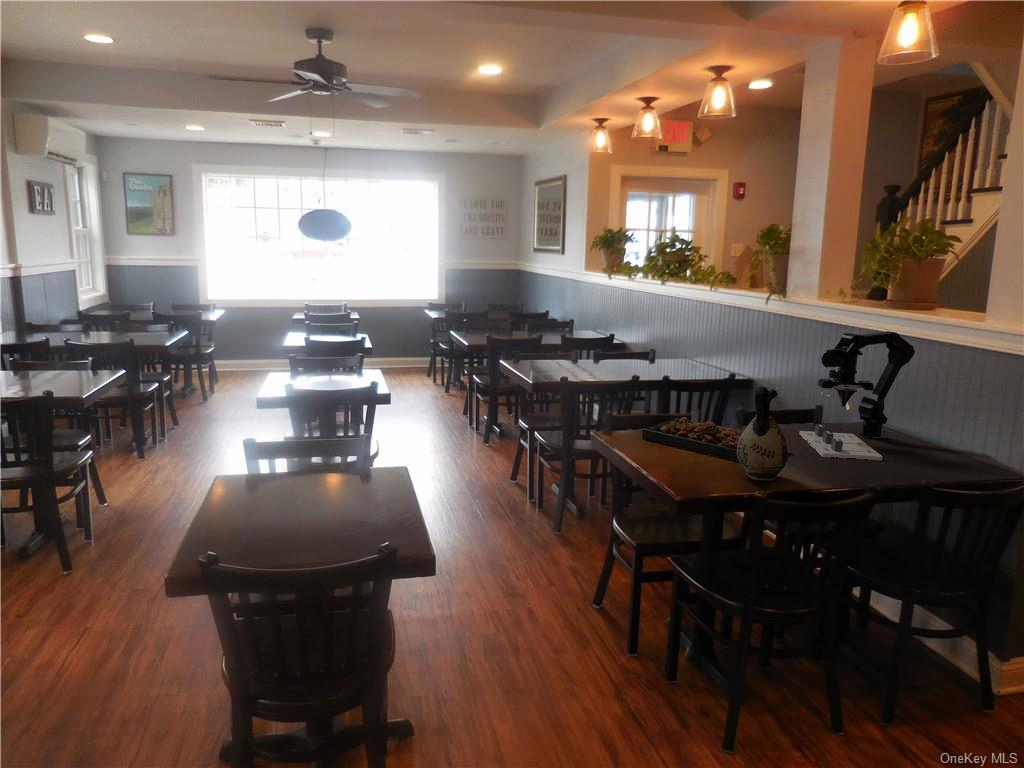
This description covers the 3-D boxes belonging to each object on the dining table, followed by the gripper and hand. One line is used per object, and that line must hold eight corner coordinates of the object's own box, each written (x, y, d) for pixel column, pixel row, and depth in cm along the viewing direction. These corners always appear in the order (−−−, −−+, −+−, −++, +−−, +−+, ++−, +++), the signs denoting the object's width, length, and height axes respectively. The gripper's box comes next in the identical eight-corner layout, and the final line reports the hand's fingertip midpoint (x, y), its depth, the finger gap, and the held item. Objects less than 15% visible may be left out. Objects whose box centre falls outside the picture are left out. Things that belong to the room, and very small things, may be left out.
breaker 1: (821, 433, 279) (822, 424, 278) (824, 436, 275) (825, 427, 274) (814, 433, 279) (815, 424, 278) (817, 435, 275) (818, 426, 274)
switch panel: (852, 437, 280) (852, 433, 280) (881, 460, 251) (882, 456, 251) (799, 434, 283) (799, 430, 282) (822, 456, 253) (823, 452, 253)
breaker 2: (838, 448, 259) (839, 438, 258) (841, 451, 255) (843, 441, 254) (830, 447, 259) (832, 438, 259) (834, 450, 255) (835, 441, 255)
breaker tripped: (829, 440, 269) (830, 431, 268) (832, 443, 265) (833, 434, 264) (822, 440, 269) (823, 430, 268) (825, 443, 265) (826, 433, 264)
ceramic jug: (745, 466, 240) (753, 378, 234) (791, 476, 231) (802, 385, 225) (724, 478, 227) (733, 386, 221) (773, 489, 218) (783, 393, 212)
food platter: (785, 453, 259) (788, 425, 257) (756, 468, 241) (759, 438, 239) (674, 428, 288) (676, 404, 286) (641, 440, 270) (643, 414, 268)
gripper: (865, 364, 279) (860, 403, 282) (816, 361, 281) (811, 400, 284) (876, 369, 268) (871, 409, 271) (825, 366, 270) (820, 407, 273)
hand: (843, 406), depth 275 cm, fingers closed
